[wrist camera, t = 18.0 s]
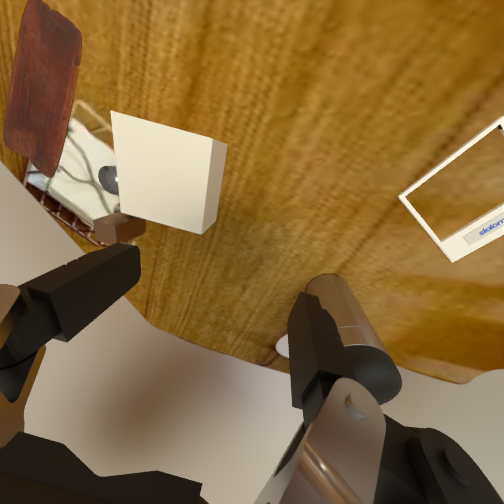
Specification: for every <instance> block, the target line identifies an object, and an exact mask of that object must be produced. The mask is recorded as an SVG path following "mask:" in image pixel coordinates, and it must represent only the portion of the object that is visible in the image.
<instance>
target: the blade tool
mask: <svg viewBox="0 0 504 504" xmlns="http://www.w3.org/2000/svg"><path fill="white" fill-rule="evenodd" d="M93 222H94V228H95V234H96V240H98V241H101V242H104V243H108V244H111V245H113V244H115V243H117V242H123V243H124V242H126V241H128V240H130V239H132V238H134V237H136V236H138V235H140V234H142V233H144V232H146V226H145V219H143V218H139V217H136V216H132V215H129V214H125V213H121V212H118V213H114V214H111V215H108V216H105V217H101V218H98V219H95V220H93Z"/></svg>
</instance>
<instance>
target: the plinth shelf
mask: <svg viewBox="0 0 504 504" xmlns="http://www.w3.org/2000/svg"><path fill="white" fill-rule="evenodd" d="M111 120H112V129H113V139H114V149H115V159H116V169H117V179H118V188H119V198H120V208H121V213H125V214H129V215H132V216H136V217H139V218H143V219H147V220H150V221H154V222H157V223H161V224H165V225H168V226H172V227H176V228H179V229H183V230H186V231H190V232H194V233H197V234H201V235H202V234H203V233H204V232H205V231H206V230H207V229H208V228H209V227H210V226H211V225H212V224H213V223H214V222H215V221H216V217H217V211H218V204H219V198H220V191H221V185H222V178H223V172H224V166H225V159H226V153H227V146H228V144H225V143H223V142H220V141H218V140H215V139H212V138H209V137H205V136H201V135H198V134H194V133H190V132H187V131H183V130H179V129H176V128H172V127H169V126H165V125H161V124H158V123H154V122H150V121H147V120H143V119H139V118H136V117H132V116H129V115H125V114H121V113H118V112H114V111H111Z"/></svg>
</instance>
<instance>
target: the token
mask: <svg viewBox="0 0 504 504" xmlns="http://www.w3.org/2000/svg"><path fill="white" fill-rule="evenodd" d="M98 177H99V181H100V183H101V185H102V186H103V188H104V189H105V190H106V191H108V192H109V193H111V194H115V195H117V194H119V188H118V179H117V169H116V166H104V167H102V168H101V169H100V170H99V174H98Z"/></svg>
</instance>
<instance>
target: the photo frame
mask: <svg viewBox="0 0 504 504" xmlns="http://www.w3.org/2000/svg"><path fill="white" fill-rule="evenodd" d="M498 125H501V127H502V128H503V129H500V132H501V134H502V135H503V137H504V116H501V117H499V118H497V119H496V120H495V121H493V122H492V123H491V124H490V125H488V126H487V127H486V128H484V129H483V130H482V131H481V132H479V133H478V134H477V135H475V136H474V137H473V138H471V139H470V140H469V141H468V142H466V143H465V144H464V145H462V146H461V147H460V148H459V149H457V150H456V151H455V152H453V153H452V154H451V155H450V156H448V157H447V158H446V159H444V160H443V161H442V162H440V163H439V164H438V165H437V166H435V167H434V168H433V169H431V170H430V171H429V172H428V173H426V174H425V175H424V176H422V177H421V178H420V179H419V180H417V181H416V182H415V183H413V184H412V185H411V186H409V187H408V188H407V189H406V190H404V191H403V192H402V193H400V194H399V195H398V196H397V197H398V199H399V200H400V201H401V202H402V203H403V205H404V206H405V207H406V208H407V209H408V211H409V212H410V213H411V214H412V216H413V217H414V218H415V219H416V220H417V222H418V223H419V224H420V225H421V226H422V228H423V229H424V230H425V231H426V233H427V234H428V235H429V236H430V237H431V239H432V240H433V241H434V242H435V243H436V245H437V246H438V247H439V248H440V250H441V251H442V252H443V253H444V254H445V256H446V257H447V258H448V259H449V260H450V261H451V262H452V263H453V262H454V261H456V260H458V259H460V258H462V257H464V256H465V255H467V254H469V253H471V252H473V251H474V250H476V249H478V248H480V247H482V246H483V245H485V244H487V243H489V242H491V241H493V240H494V239H496V238H498V237H500V236H502V235H503V234H504V202H503V203H501V204H500V205H498V206H496V207H495V208H493V209H492V210H490V211H488V212H487V213H485V214H483V215H482V216H480V217H478V218H477V219H475V220H474V221H472V222H470V223H469V224H467V225H465V226H464V227H462V228H460V229H459V230H457V231H456V232H454V233H452V234H451V235H449V236H447V237H446V238H444V239H442V240H441V241H440V240H439V239H438V237H437V236H436V235H435V234H434V233H433V231H432V230H431V229H430V228H429V226H428V225H427V224H426V223H425V221H424V220H423V219H422V218H421V216H420V215H419V214H418V213H417V212H416V210H415V209H414V208H413V207H412V205H411V204H410V203H409V202H408V200H407V199H406V198H405V196H406V195H407V194H409V193H410V192H411V191H413V190H414V189H415V188H417V187H418V186H419V185H421V184H422V183H423V182H425V181H426V180H427V179H428V178H430V177H431V176H432V175H434V174H435V173H436V172H438V171H439V170H440V169H442V168H443V167H444V166H446V165H447V164H448V163H450V162H451V161H452V160H453V159H455V158H456V157H457V156H459V155H460V154H461V153H463V152H464V151H465V150H467V149H468V148H469V147H471V146H472V145H473V144H475V143H476V142H477V141H478V140H480V139H481V138H482V137H484V136H485V135H486V134H488V133H489V132H490V131H492V130H493V129H494V128H496V127H497V126H498Z"/></svg>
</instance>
